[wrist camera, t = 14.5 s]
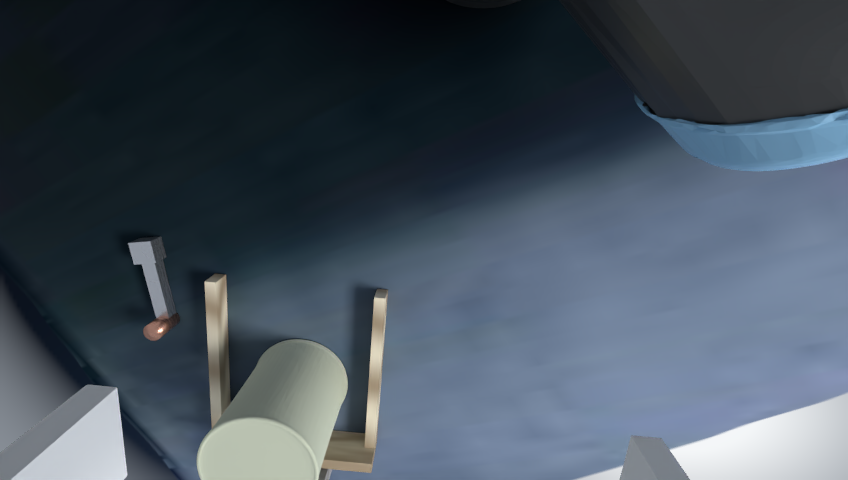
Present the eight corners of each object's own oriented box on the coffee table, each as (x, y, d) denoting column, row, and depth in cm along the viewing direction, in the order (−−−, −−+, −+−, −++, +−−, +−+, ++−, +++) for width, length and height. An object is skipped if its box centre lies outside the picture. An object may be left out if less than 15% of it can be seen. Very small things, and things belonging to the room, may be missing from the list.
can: (280, 430, 46) (228, 537, 34) (239, 356, 44) (168, 443, 32) (362, 404, 45) (337, 505, 33) (324, 325, 42) (283, 405, 31)
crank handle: (139, 238, 40) (116, 247, 37) (161, 236, 40) (140, 245, 37) (163, 326, 43) (143, 341, 40) (183, 324, 43) (165, 340, 40)
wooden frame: (215, 273, 41) (175, 303, 35) (387, 289, 41) (379, 322, 35) (223, 458, 47) (189, 512, 41) (374, 472, 47) (364, 528, 41)
